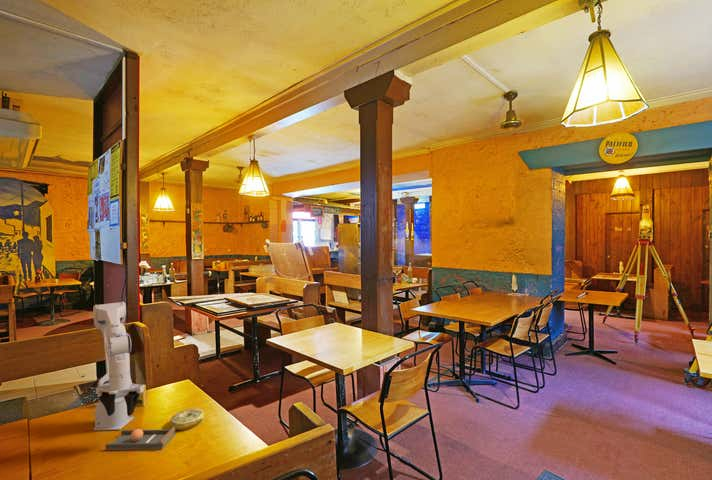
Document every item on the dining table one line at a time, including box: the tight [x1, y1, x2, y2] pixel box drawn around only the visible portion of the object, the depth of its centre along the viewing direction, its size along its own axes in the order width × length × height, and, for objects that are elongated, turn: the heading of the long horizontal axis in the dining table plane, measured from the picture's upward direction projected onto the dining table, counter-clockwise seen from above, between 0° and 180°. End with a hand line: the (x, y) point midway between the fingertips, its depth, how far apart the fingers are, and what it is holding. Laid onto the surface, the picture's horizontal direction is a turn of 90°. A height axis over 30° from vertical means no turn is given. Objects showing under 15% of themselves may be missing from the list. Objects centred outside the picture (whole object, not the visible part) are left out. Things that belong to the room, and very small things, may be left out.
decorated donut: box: [169, 407, 205, 431], centre depth 125 cm, size 10×11×4 cm
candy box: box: [135, 384, 148, 407], centre depth 139 cm, size 16×2×8 cm, turn 87°
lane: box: [104, 426, 176, 451], centre depth 114 cm, size 18×8×3 cm, turn 90°
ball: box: [130, 428, 143, 441], centre depth 114 cm, size 4×4×4 cm
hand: (121, 414), depth 113 cm, fingers open, 6 cm apart
